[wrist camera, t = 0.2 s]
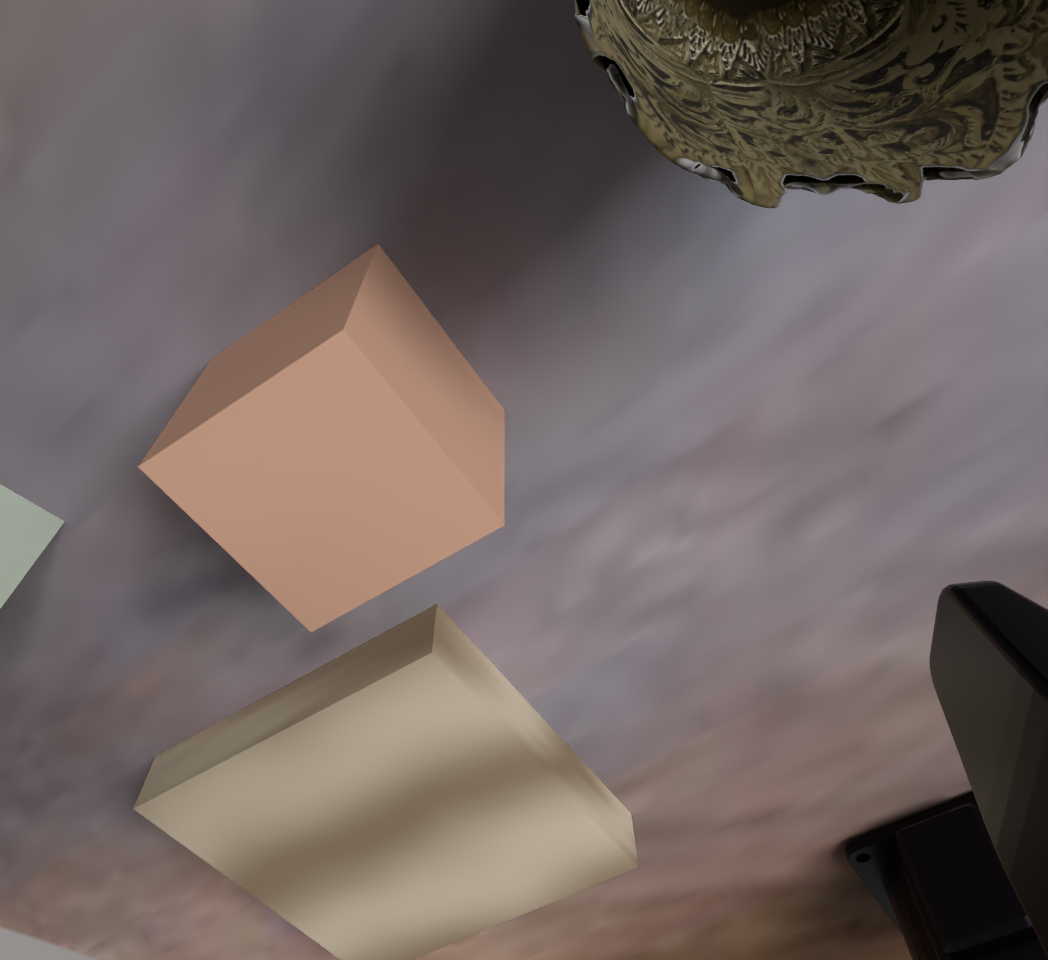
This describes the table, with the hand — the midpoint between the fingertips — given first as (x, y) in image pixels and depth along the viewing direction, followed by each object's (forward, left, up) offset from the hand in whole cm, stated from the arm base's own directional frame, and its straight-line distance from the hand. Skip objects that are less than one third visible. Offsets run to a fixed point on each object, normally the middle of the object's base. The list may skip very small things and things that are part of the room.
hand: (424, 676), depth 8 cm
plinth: (-14, +13, -14) cm, 23 cm away
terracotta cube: (-2, +4, -14) cm, 15 cm away
